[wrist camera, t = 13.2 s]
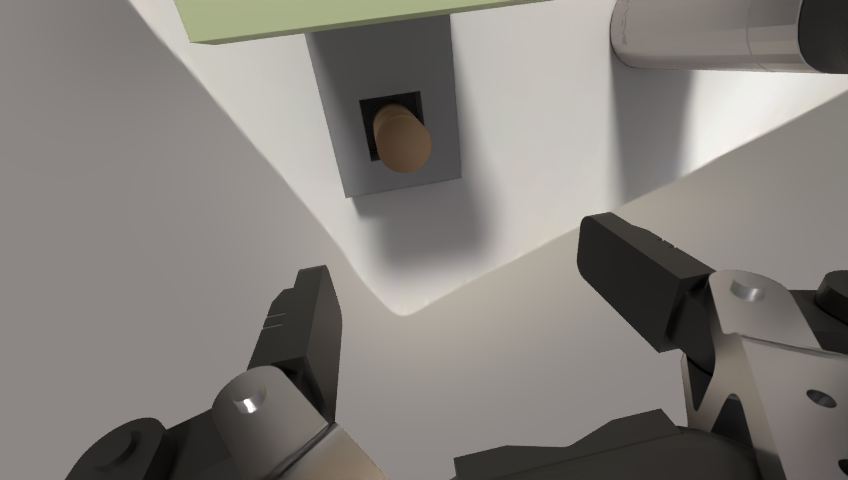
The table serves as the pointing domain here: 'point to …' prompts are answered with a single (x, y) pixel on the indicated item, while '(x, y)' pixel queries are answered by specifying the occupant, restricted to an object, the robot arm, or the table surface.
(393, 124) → the peg
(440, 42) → the socket base
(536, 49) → the table surface
